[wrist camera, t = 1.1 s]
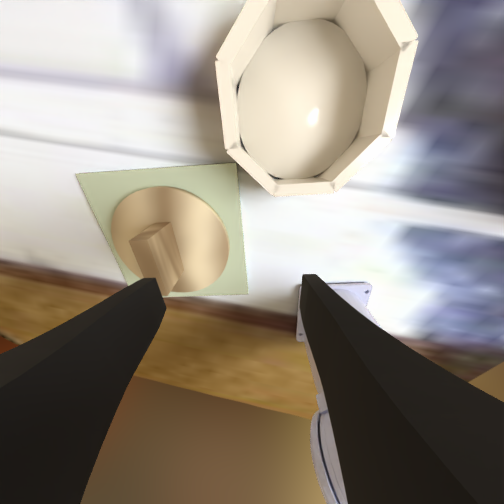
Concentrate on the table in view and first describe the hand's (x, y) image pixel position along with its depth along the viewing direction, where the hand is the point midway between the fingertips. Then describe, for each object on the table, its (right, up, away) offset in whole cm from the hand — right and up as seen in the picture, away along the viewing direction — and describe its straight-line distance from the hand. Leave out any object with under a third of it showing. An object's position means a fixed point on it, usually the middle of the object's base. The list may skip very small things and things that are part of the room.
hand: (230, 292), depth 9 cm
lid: (-7, +3, +9) cm, 12 cm away
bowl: (+5, +12, +5) cm, 14 cm away
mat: (-7, +3, +10) cm, 12 cm away
